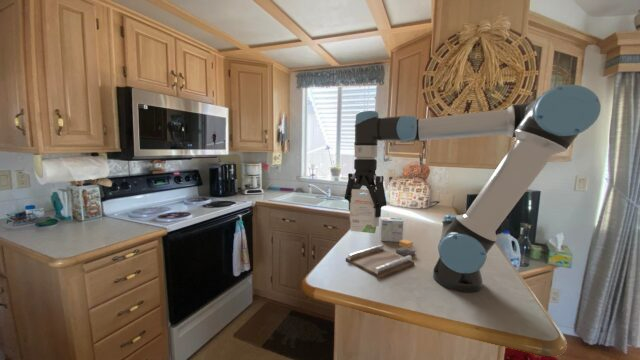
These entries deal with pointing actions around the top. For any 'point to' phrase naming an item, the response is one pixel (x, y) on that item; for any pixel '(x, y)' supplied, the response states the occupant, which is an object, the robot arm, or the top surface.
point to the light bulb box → (391, 229)
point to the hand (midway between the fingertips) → (363, 222)
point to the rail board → (379, 262)
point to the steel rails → (382, 267)
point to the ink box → (361, 212)
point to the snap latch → (405, 243)
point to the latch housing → (405, 251)
